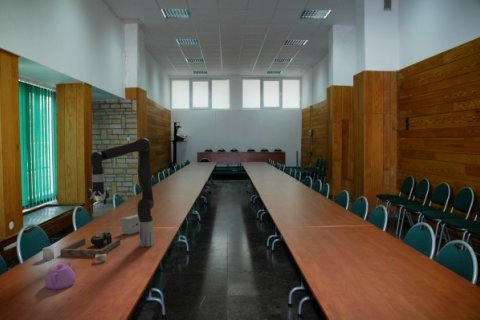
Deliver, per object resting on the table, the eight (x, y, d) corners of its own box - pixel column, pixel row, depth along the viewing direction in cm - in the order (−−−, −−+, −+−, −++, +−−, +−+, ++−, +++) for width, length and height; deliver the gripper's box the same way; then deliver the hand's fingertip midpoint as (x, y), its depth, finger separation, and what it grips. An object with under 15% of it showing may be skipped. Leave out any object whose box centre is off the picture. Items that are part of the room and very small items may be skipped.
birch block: (106, 260, 210) (106, 253, 209) (105, 262, 206) (105, 255, 206) (96, 261, 208) (95, 254, 208) (95, 263, 204) (94, 256, 204)
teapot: (83, 276, 185) (82, 256, 184) (66, 292, 165) (66, 270, 164) (56, 276, 184) (56, 257, 183) (37, 293, 164) (36, 271, 163)
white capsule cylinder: (56, 257, 215) (55, 246, 214) (50, 260, 209) (49, 249, 208) (47, 257, 215) (46, 246, 215) (40, 260, 209) (40, 249, 209)
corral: (120, 244, 241) (120, 238, 241) (102, 256, 215) (102, 250, 215) (82, 243, 243) (82, 238, 243) (60, 255, 217) (60, 249, 217)
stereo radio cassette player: (141, 228, 286) (140, 204, 285) (148, 229, 282) (148, 205, 281) (121, 234, 268) (120, 209, 267) (128, 235, 264) (127, 210, 263)
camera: (101, 241, 248) (101, 228, 247) (113, 243, 245) (113, 229, 244) (86, 248, 233) (85, 234, 232) (98, 249, 230) (98, 235, 229)
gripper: (110, 180, 234) (111, 203, 235) (90, 180, 236) (91, 203, 237) (105, 181, 227) (106, 205, 228) (85, 181, 228) (85, 205, 229)
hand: (98, 204), depth 232 cm, fingers open, 8 cm apart
